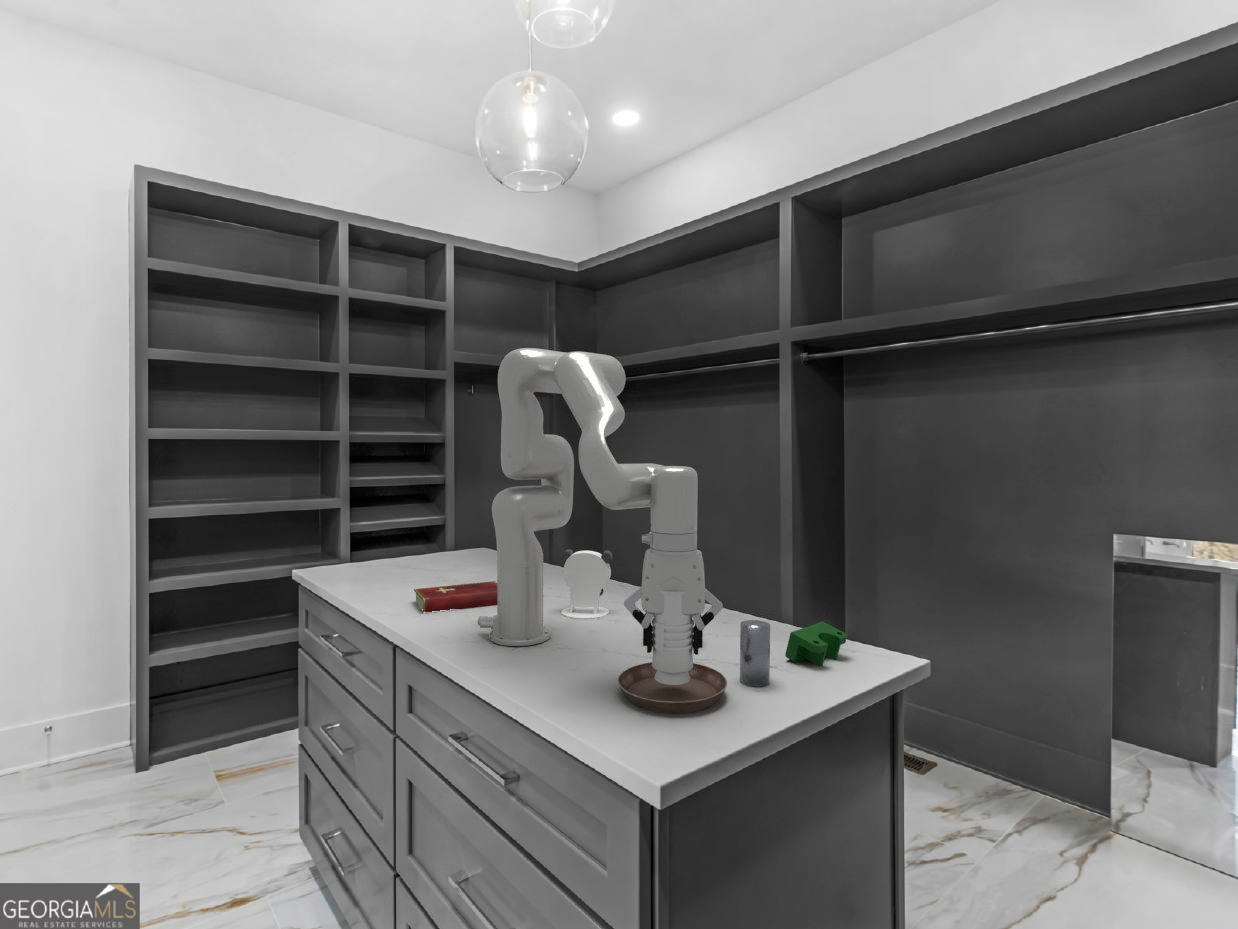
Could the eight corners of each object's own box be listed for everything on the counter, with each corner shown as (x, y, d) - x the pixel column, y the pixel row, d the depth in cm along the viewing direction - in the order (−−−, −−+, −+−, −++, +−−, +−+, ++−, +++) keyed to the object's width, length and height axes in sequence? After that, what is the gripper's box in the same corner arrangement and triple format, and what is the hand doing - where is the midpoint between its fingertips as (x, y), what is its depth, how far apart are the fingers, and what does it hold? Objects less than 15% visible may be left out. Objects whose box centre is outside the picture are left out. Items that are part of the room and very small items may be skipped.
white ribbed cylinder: (642, 678, 106) (642, 587, 105) (669, 667, 111) (669, 580, 110) (675, 689, 101) (676, 594, 100) (702, 677, 106) (702, 586, 105)
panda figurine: (614, 607, 161) (614, 547, 160) (608, 620, 149) (609, 555, 149) (566, 606, 162) (566, 546, 161) (557, 618, 151) (557, 554, 150)
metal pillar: (741, 686, 109) (741, 627, 109) (738, 675, 114) (739, 619, 114) (771, 687, 109) (772, 628, 108) (767, 677, 114) (768, 620, 113)
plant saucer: (647, 728, 94) (647, 708, 94) (601, 686, 110) (601, 668, 110) (749, 709, 101) (749, 689, 101) (691, 672, 117) (691, 655, 117)
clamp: (812, 689, 120) (812, 653, 116) (785, 673, 124) (784, 637, 120) (849, 653, 126) (850, 617, 122) (822, 639, 130) (822, 604, 126)
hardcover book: (508, 605, 164) (508, 589, 164) (423, 615, 154) (423, 598, 154) (494, 595, 174) (494, 580, 174) (414, 604, 165) (413, 588, 165)
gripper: (618, 545, 102) (617, 656, 103) (729, 547, 100) (728, 661, 101) (622, 537, 110) (621, 642, 110) (726, 540, 108) (724, 645, 109)
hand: (672, 650), depth 106 cm, fingers closed on white ribbed cylinder, 6 cm apart
